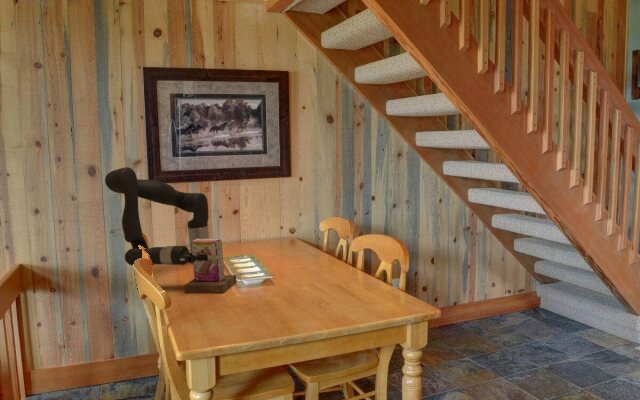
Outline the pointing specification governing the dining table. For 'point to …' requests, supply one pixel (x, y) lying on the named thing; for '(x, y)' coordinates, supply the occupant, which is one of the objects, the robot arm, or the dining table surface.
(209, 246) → the candy bar box
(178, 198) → the robot arm
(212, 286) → the walnut base
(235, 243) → the dining table surface
